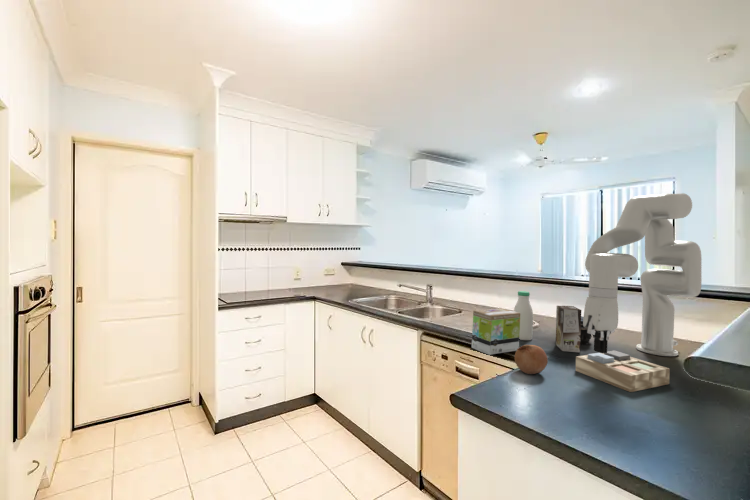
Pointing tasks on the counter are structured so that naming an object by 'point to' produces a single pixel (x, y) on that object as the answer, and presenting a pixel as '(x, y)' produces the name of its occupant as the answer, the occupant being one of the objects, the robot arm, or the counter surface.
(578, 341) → the coffee box
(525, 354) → the onion
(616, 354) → the key charcoal
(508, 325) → the tea box
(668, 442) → the counter surface
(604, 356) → the key pale blue
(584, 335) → the container
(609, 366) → the wooden puzzle board
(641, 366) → the key sage
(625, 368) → the key terracotta
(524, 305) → the milk bottle
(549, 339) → the counter surface
